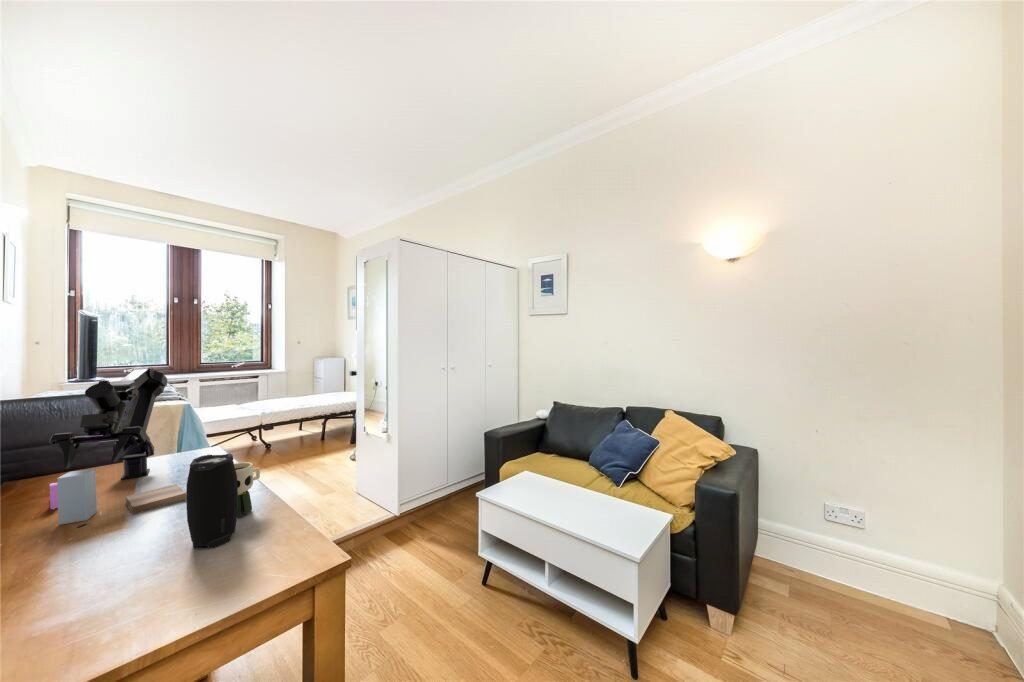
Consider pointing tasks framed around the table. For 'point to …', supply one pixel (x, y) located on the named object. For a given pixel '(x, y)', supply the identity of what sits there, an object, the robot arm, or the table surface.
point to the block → (76, 496)
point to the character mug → (245, 485)
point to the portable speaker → (212, 500)
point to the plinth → (155, 498)
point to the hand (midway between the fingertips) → (89, 465)
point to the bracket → (54, 495)
